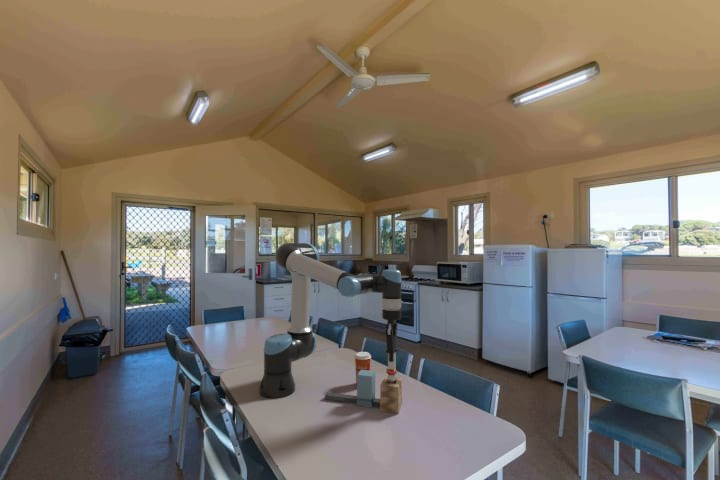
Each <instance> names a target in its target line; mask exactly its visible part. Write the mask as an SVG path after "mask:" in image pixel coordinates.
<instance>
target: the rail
mask: <svg viewBox="0 0 720 480" xmlns="http://www.w3.org/2000/svg"><path fill="white" fill-rule="evenodd" d="M324 401H328V402H329V401H330V402H337V403H344V404H350V405H351V404H352V405H357V395H352V394H345V393H338V392H337V393H336V392H330V391H328V392H326V393H325V394H324ZM373 407H374V408H380V398H376V397H375V398H374V399H373V401H372V408H373Z"/></svg>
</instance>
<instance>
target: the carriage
mask: <svg viewBox="0 0 720 480" xmlns="http://www.w3.org/2000/svg"><path fill="white" fill-rule="evenodd" d="M356 396H357V404H356V406H357V407H359V406H360V407H366V408H373V406H372V401H373V399H374V398H376V371H375V370H370V371H369V370H360V372H359V373H358V374H357V383H356Z"/></svg>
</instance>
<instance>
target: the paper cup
mask: <svg viewBox="0 0 720 480" xmlns="http://www.w3.org/2000/svg"><path fill="white" fill-rule="evenodd" d="M371 359H372V355H371V354H370V353H369V352H368V351H358V352H356V353H355V354H354V362H355V363H354V365H355V381H356V382H355V383H356V384H357V374H358V373H359V372H360V370H369V371H371Z"/></svg>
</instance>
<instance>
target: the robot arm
mask: <svg viewBox="0 0 720 480" xmlns="http://www.w3.org/2000/svg"><path fill="white" fill-rule="evenodd" d="M274 255H275V256H274V257H275V262H276V264H277V265H278V266H279V268H281V269H284V270H286V271H289V273H290V274H291V276H292V277H291V279H292V281H291V303H290V304H291V305H290V308H291V309H290V326H289V327H288V328H287V333H279V334H277V333H276V334H274V335H271V336H269V337H267V338H266V339H265V340H264V347H263V375H262V378H261V382H260V385H259V391H258V394H259V395H260V396H262V397H263V398H268V399H280V398H284V397H288V396H290V395H292V394H293V393H294V392H295V391H296V383H295V379H294V377H293V373H292V363H293V362H295V361H298V360H302V359H305V358H307V357H309V356H310V355H313V353H314V352H315V350H316V348H317V343H318V340H317V337H316V334H315V333H314V332H313V327H311V326H310V313H311V312H310V311H311V309H310V308H311V279H313V280H315V281H317V282H320V283H321V284H324V285H327V286H328V287H331V288H334V289H336V290H338V292H339V293H340V295H341V296H343V297H345V298H346V297H351V298H352V297H355V296H360V295H364V294H365V295H366V294H369V293H376V294H381V295H382V300H381V301H382V302H381V303H382V304H381V306H382V307H381V308H382V310H381V311H382V312H381V313H382V315H381V317H382V319H383V320H386V321H387V323H386V325H385V335H386V338H385V339H386V351H385V353H386V354H387V368H388V369H391V370H395V369H397V368H396V365H397V364H396V358H397V357H396V356H397V355H396V354H397V353H396V352H398V349H397V342H398V341H397V339H398V338H397V336H398V335H397V334H398V326H399V325H398V322H397V321H399V320H401V319H402V310H401V308H402V304H403V303H404V301H403V300H402V273H401V271H400V270H399V269H384V270H382V273H381V274H377V273H376V274H374V273H367V272H365V273H359V274H356V275H355V274H352V273H349V272H347V271H344V270H342V269H339V268H338V267H337V268H336V267H335V266H332V265H329V264H326V263H324V262H322V261H320V253H319V251H318V249H317V248H316V246H314V245H313V244H312V243H307V242H306V243H305V242H301V243H300V242H296V243H295V242H286V243H283V244H281V245H280V246H279V247H278V248H277V250H276V252H275V254H274Z"/></svg>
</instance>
